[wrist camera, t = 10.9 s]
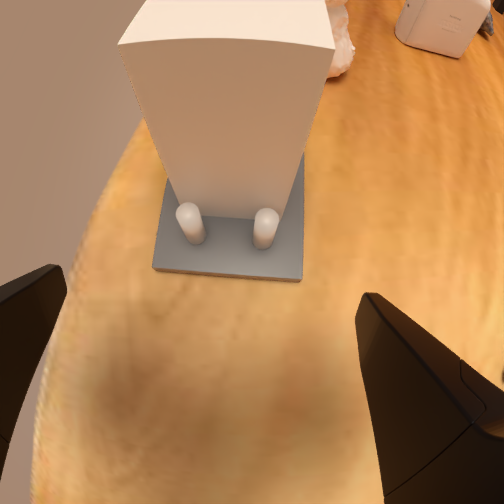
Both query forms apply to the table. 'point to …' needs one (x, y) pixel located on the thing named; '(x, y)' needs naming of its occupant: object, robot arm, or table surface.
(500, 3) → the ink cartridge
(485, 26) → the mineral rock
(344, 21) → the white creature statuette
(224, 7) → the block
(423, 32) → the photo printer
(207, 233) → the grey peg board
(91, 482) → the table surface
